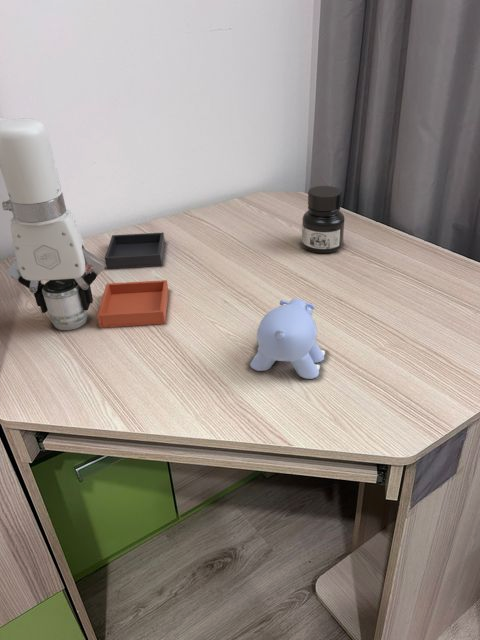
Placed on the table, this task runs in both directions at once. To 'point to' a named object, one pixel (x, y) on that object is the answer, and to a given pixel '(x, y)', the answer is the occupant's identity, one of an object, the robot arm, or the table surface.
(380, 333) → the table surface
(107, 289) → the terracotta tray
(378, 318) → the table surface
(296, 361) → the hippopotamus toy
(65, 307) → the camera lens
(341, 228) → the ink bottle
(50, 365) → the table surface
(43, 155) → the robot arm
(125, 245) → the charcoal tray
